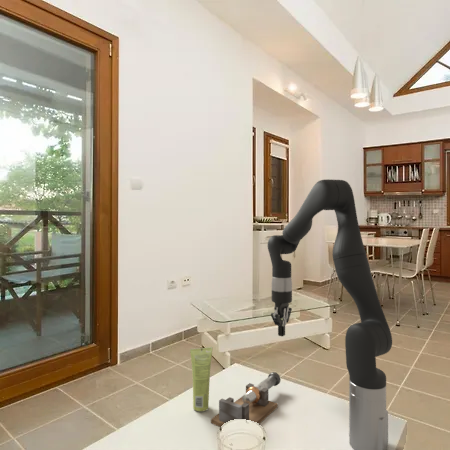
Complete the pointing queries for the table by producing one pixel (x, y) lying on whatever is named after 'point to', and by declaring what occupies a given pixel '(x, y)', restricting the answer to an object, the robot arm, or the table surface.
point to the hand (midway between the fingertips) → (281, 335)
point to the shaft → (260, 388)
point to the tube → (201, 377)
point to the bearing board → (253, 412)
